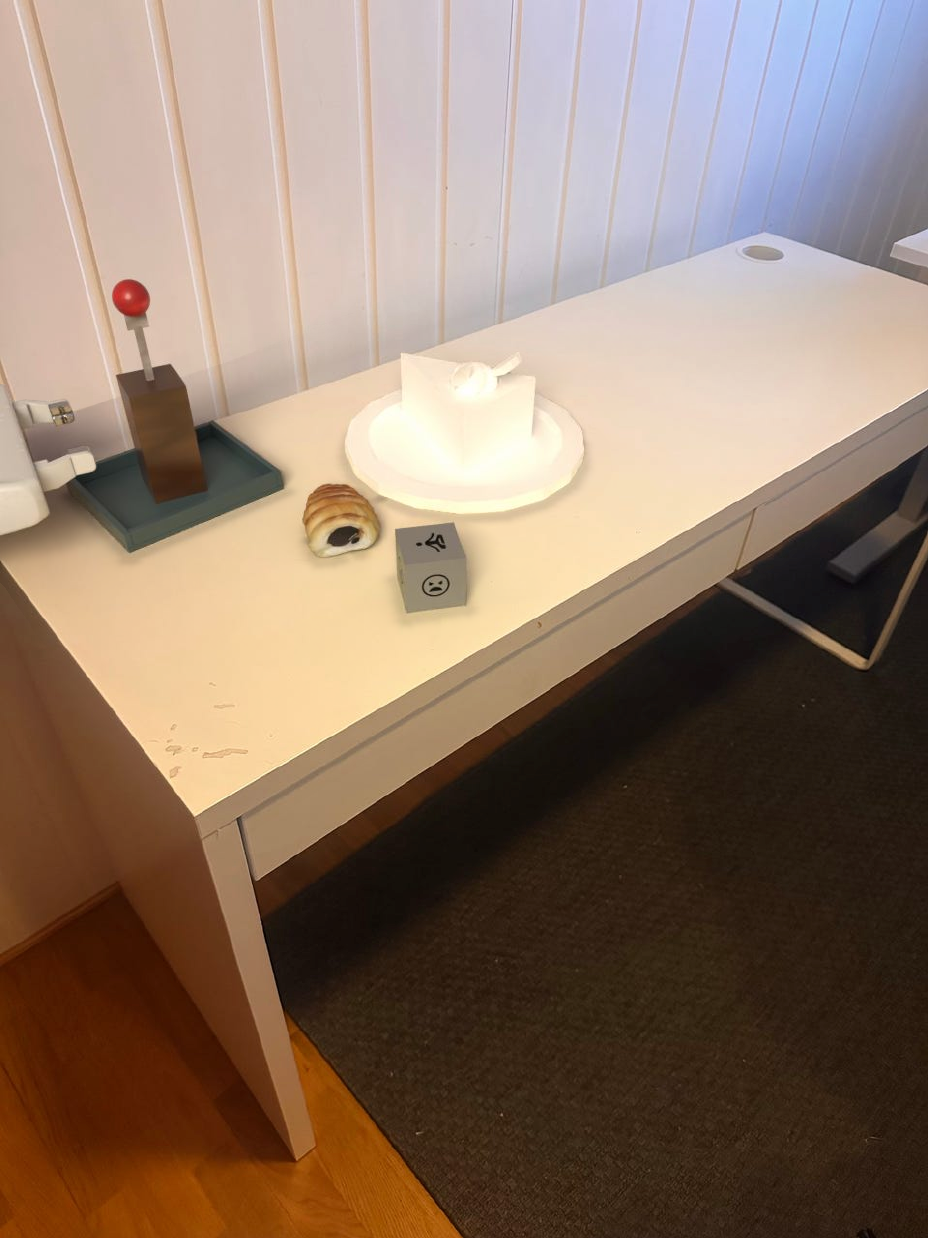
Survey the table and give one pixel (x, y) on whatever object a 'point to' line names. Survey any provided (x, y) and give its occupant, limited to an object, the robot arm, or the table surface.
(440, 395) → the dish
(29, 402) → the robot arm
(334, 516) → the pastry
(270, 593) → the table surface
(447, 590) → the dice cube
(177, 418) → the red ball lever
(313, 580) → the table surface
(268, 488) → the teal serving tray
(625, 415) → the table surface
